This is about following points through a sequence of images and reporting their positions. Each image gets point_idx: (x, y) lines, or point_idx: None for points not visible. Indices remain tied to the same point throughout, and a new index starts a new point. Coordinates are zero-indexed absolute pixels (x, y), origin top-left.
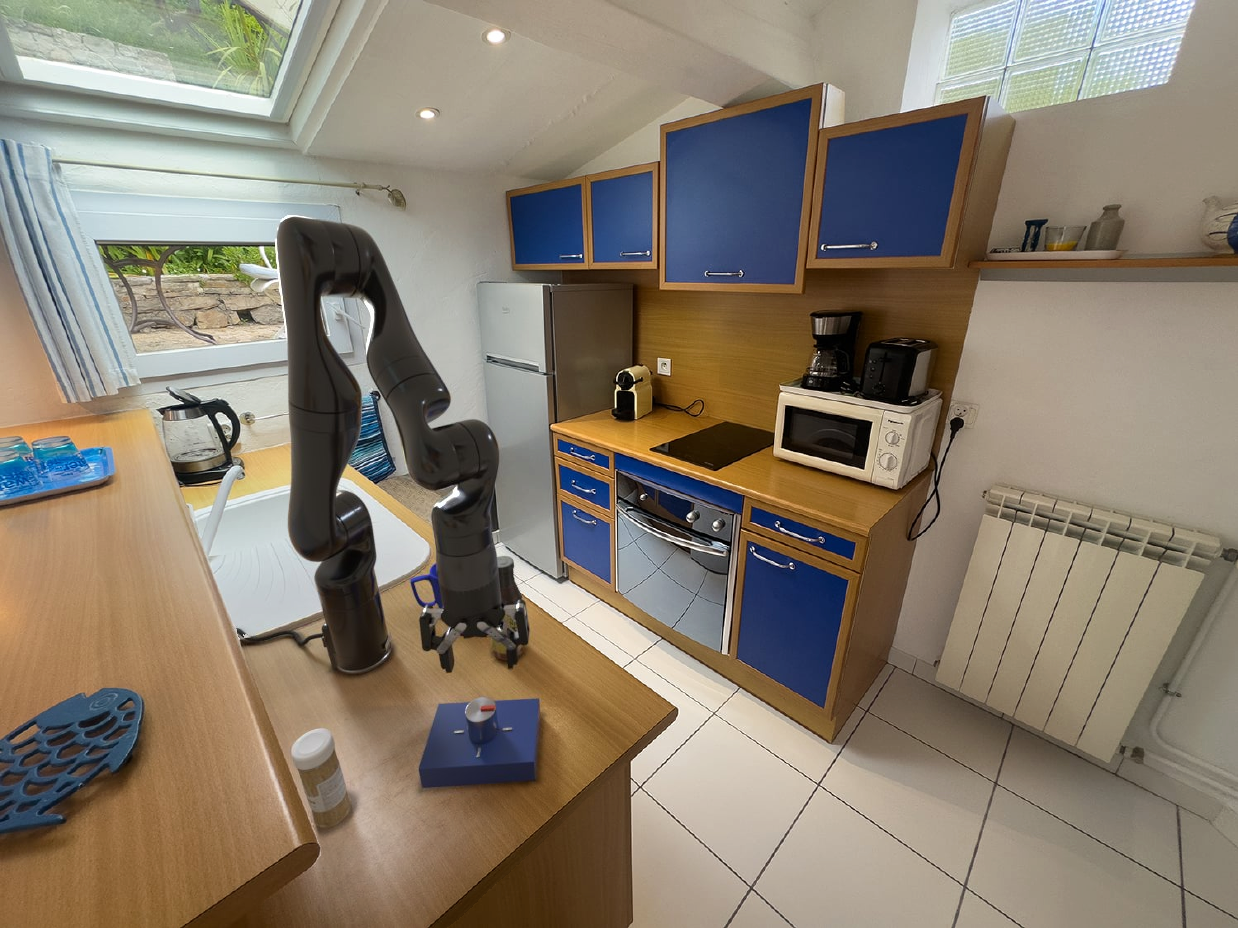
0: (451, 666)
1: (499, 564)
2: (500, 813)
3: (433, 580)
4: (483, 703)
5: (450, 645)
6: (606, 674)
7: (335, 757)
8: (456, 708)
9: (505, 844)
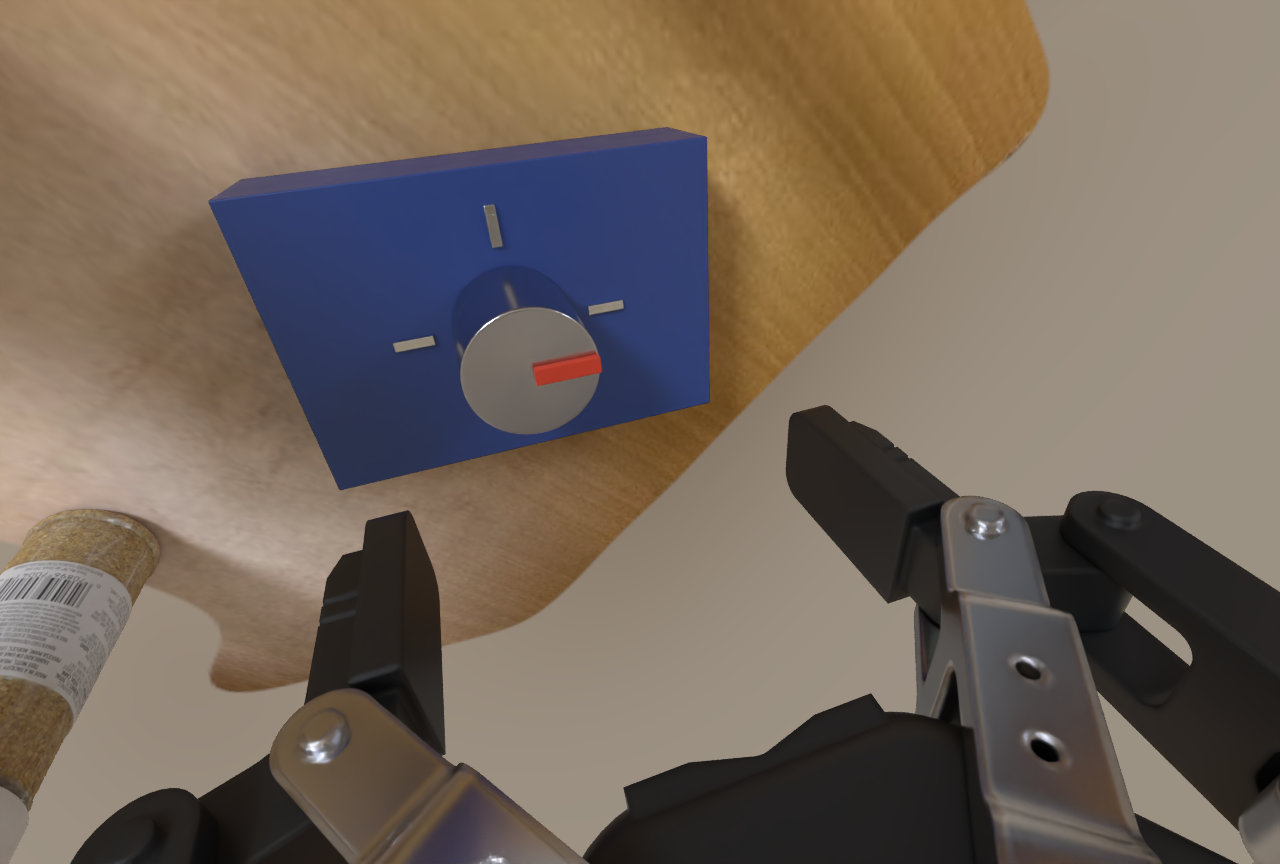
0: (430, 591)
1: None
2: (604, 454)
3: None
4: (535, 345)
5: (413, 693)
6: None
7: (28, 737)
8: (331, 223)
9: (631, 504)
